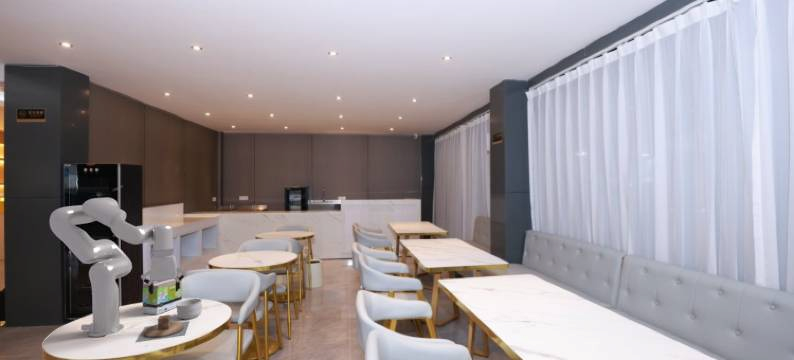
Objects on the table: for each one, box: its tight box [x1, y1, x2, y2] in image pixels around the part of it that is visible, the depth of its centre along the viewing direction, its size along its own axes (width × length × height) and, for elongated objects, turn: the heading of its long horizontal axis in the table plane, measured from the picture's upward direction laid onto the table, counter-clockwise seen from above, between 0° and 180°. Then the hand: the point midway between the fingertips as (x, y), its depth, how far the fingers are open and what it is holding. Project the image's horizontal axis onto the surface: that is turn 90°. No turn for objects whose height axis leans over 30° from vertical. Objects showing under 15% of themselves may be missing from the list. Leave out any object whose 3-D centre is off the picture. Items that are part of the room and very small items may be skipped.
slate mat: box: [135, 320, 191, 343], centre depth 173 cm, size 18×18×1 cm
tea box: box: [142, 279, 183, 316], centre depth 204 cm, size 15×10×15 cm, turn 162°
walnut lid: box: [144, 314, 184, 338], centre depth 173 cm, size 15×15×6 cm
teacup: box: [176, 297, 203, 321], centre depth 192 cm, size 14×11×8 cm
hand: (164, 292), depth 173 cm, fingers open, 9 cm apart
